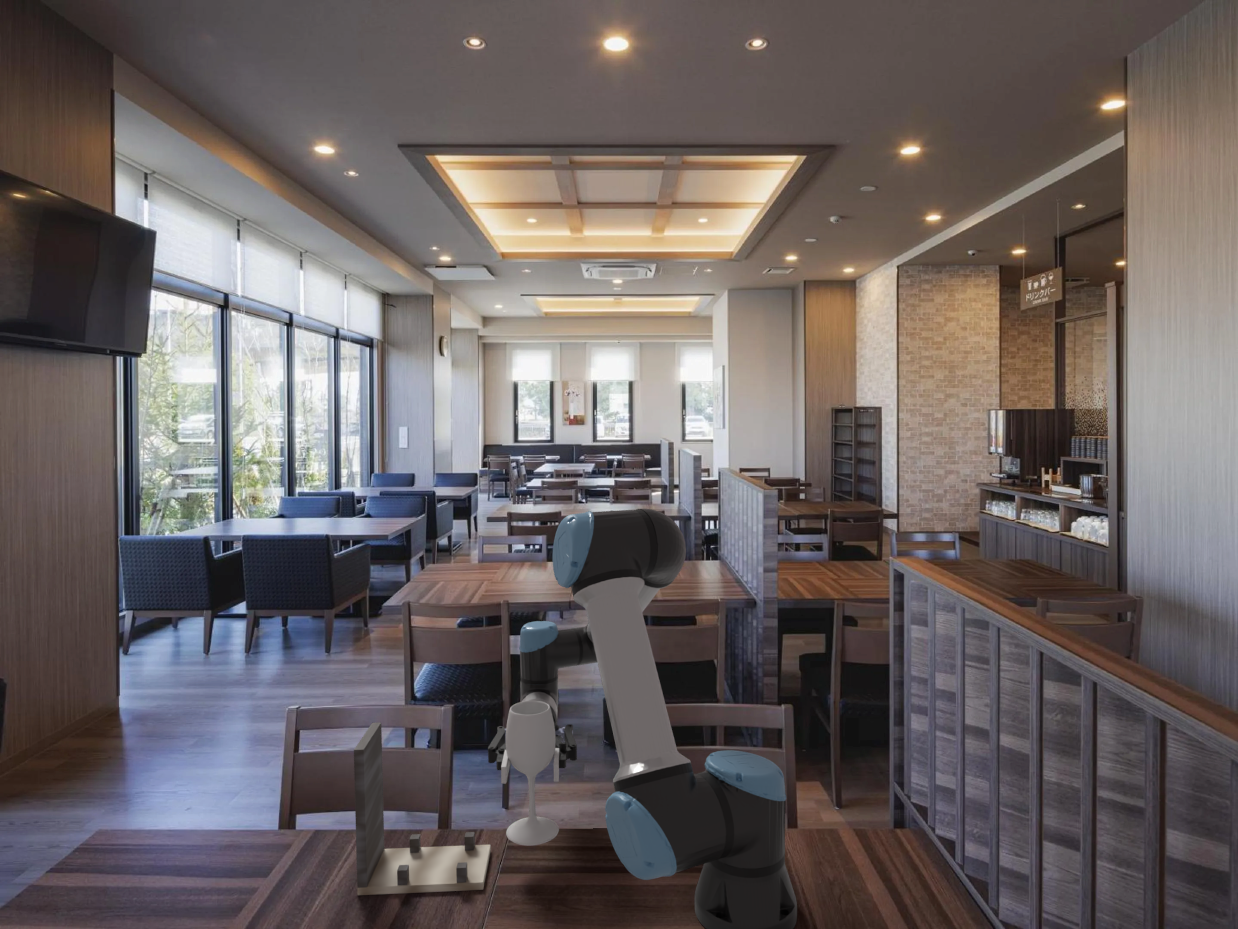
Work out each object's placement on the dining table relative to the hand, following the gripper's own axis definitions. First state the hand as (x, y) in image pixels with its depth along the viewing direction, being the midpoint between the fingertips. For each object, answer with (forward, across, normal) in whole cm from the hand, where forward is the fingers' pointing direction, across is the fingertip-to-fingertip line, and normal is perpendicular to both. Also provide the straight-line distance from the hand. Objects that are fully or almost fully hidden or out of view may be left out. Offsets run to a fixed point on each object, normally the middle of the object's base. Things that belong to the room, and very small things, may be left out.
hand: (529, 774), depth 121 cm
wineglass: (-5, 0, -12) cm, 13 cm away
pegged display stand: (-5, +17, -18) cm, 25 cm away
